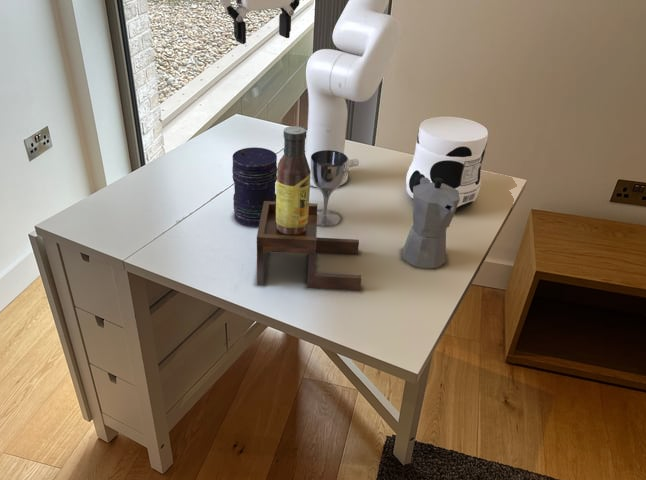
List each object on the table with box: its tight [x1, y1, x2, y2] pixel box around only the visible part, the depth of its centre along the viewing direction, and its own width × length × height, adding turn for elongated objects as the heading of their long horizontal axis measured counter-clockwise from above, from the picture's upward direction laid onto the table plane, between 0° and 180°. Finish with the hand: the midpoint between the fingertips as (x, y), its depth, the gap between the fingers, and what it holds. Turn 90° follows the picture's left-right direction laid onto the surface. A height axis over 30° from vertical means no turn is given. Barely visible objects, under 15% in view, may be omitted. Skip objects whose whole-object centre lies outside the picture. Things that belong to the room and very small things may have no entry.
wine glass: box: [311, 150, 348, 227], centre depth 131 cm, size 8×8×15 cm
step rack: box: [256, 201, 362, 292], centre depth 116 cm, size 20×14×11 cm
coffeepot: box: [402, 174, 460, 270], centre depth 118 cm, size 15×9×18 cm, turn 13°
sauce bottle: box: [275, 125, 311, 235], centre depth 108 cm, size 6×6×20 cm
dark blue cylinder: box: [231, 146, 278, 228], centre depth 131 cm, size 10×10×15 cm
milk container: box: [405, 115, 489, 211], centre depth 138 cm, size 17×17×18 cm
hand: (262, 39), depth 115 cm, fingers open, 9 cm apart
